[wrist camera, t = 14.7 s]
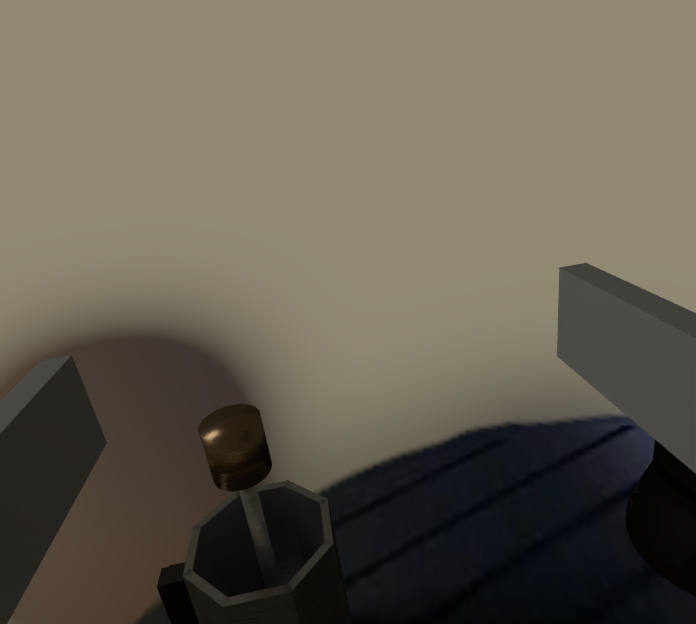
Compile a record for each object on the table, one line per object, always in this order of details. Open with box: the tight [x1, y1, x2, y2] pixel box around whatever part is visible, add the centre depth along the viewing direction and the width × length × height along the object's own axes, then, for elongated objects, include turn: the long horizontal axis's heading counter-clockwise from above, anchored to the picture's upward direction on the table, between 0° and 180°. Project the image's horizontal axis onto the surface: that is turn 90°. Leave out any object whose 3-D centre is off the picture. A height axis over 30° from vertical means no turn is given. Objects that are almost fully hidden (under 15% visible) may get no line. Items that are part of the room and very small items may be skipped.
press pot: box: [157, 480, 352, 624], centre depth 38 cm, size 13×11×17 cm
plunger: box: [198, 404, 282, 589], centre depth 36 cm, size 7×7×25 cm
